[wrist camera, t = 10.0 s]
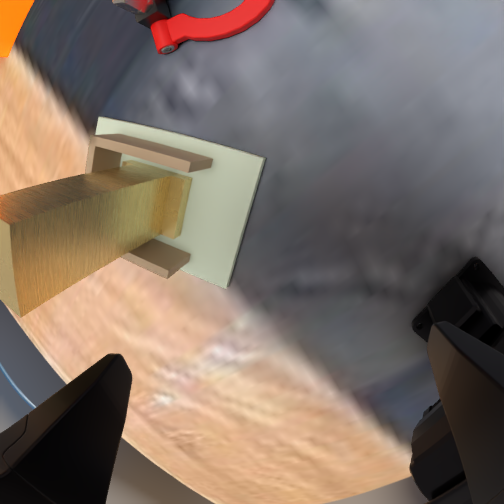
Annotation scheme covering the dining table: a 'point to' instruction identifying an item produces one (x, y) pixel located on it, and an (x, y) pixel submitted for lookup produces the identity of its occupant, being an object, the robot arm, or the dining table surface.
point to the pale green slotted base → (199, 201)
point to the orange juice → (11, 22)
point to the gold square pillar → (82, 227)
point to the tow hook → (192, 22)
